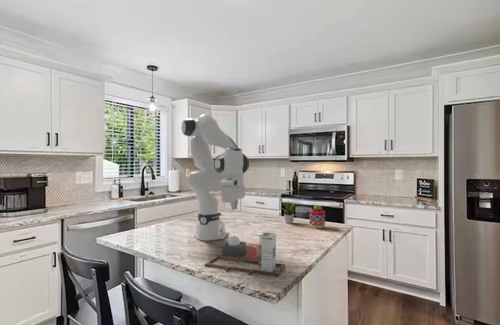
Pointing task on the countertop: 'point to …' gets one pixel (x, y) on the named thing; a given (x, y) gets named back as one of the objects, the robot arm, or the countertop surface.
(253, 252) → the die
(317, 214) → the potted succulent
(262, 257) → the syrup box
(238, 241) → the popper dome
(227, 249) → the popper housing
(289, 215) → the house plant
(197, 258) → the countertop surface
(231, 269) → the frame
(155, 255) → the countertop surface
